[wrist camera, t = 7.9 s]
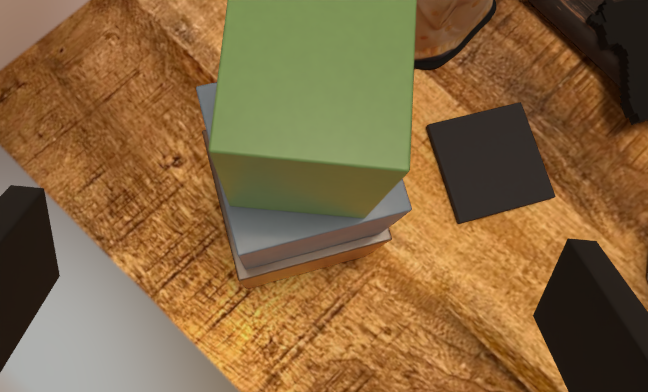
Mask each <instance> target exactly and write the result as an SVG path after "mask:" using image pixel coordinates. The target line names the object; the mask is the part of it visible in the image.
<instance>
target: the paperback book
mask: <svg viewBox="0 0 648 392" xmlns="http://www.w3.org/2000/svg"><path fill="white" fill-rule="evenodd" d="M528 1H529V2H530V3H531V4H532V5H534V6H535V7H536V8H537V9H538V10H539V11H540V12H541V13H542V14H543V15H544V16H545V17H546V18H547V19H548V20H549V21H551V22H552V23H553V24H554V25H555V26H556V27H557V28H558V29H559V30H560V31H561V32H562V33H563V34H564V35H565V36H566V37H568V38H569V39H570V40H571V41H572V42H573V43H574V44H575V45H576V46H577V47H578V48H579V49H580V50H581V51H582V52H583V53H584V54H586V55H587V56H588V57H589V58H590V59H591V60H592V61H593V62H594V63H595V64H596V65H597V66H598V67H599V68H600V69H601V70H603V71H604V72H605V73H606V74H607V75H608V76H609V77H610V78H611V79H612V80H613V81H614V82H615V83H616V84H617V85H618V86H620V84H619V83H620V82H621V80H620V78H619V74H620V72H619V69H621V68H620V66H619V63H618V62H619V61H620V60H619V57H618V55H615V54H614V51H611V50H610V49H608V50H604V51H601V50H600V48H599V45H598V43H597V42H598V41H599V39H598V37H597V34H596V32H595V29H594V28H593V27H590V25H588V26H587V23H586V20H587V18H588V17H589V16H590V15H591V14H594V16H595V15H596V14H595V12H596V11H597V10H598V6H599V5H600V4H602V2H603V1H604V0H528ZM620 1H624V0H613V2H614V3H615V2H620ZM620 87H621V86H620Z"/></svg>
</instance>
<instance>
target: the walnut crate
mask: <svg viewBox="0 0 648 392" xmlns="http://www.w3.org/2000/svg"><path fill="white" fill-rule="evenodd" d="M202 134H203V138H204V142H205V146H206V150H207V154H208V158H209V162H210V167H211V171H212V175H213V179H214V183H215V187H216V191H217V195H218V199H219V203H220V207H221V211H222V215H223V219H224V223H225V227H226V232H227V236H228V240H229V244H230V248H231V252H232V256H233V260H234V264H235V268H236V272H237V276H238V280H239V281H240V282H241V283H242V284H243V286H244V287H245V288H246V289H249V288H252V287H256V286H260V285H263V284H267V283H270V282H274V281H278V280H281V279H285V278H289V277H292V276H296V275H300V274H303V273H307V272H310V271H314V270H318V269H321V268H325V267H329V266H332V265H336V264H340V263H343V262H347V261H350V260H354V259H358V258H361V257H365V256H367V255H368V254H370V253H371V252H373V251H374V250H376V249H378V248H379V247H381V246H382V245H384V244H385V243H387V242H388V241H390V240H391V239H392V237H391V234H390V231H389V228H387V229H386V230H385V231H383V232H382V233H380V234H377V235H373V236H369V237H366V238H362V239H358V240H355V241H351V242H347V243H343V244H340V245H336V246H332V247H329V248H325V249H321V250H317V251H314V252H310V253H306V254H303V255H299V256H295V257H291V258H288V259H284V260H280V261H277V262H273V263H269V264H266V265H262V266H258V267H254V268H251V269H245V268H244V266H243V264H242V262H241V261H240V259H239V257H238V255H237V252H236V248H235V244H234V240H233V236H232V232H231V228H230V224H229V220H228V215H227V211H226V207H225V203H224V199H223V195H222V191H221V187H220V183H219V179H218V175H217V171H216V169H215V166H214V164H213V161H212V158H211V156H210V153H209V150H208V149H209V139H208V135H207V131H206V130H203V131H202Z"/></svg>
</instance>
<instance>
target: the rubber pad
mask: <svg viewBox="0 0 648 392" xmlns="http://www.w3.org/2000/svg"><path fill="white" fill-rule="evenodd" d="M426 129H427V132H428V135H429V138H430V141H431V144H432V147H433V150H434V153H435V156H436V159H437V162H438V165H439V168H440V171H441V174H442V177H443V180H444V183H445V186H446V189H447V192H448V195H449V198H450V201H451V204H452V207H453V210H454V213H455V216H456V220H457V223H458V224H460V223H464V222H467V221H471V220H475V219H478V218H482V217H486V216H489V215H493V214H497V213H500V212H504V211H508V210H511V209H515V208H519V207H522V206H526V205H530V204H533V203H537V202H541V201H544V200H548V199H552V198H554V197H555V194H554V191H553V188H552V186H551V183H550V180H549V177H548V175H547V172H546V169H545V167H544V164H543V161H542V158H541V156H540V153H539V150H538V148H537V145H536V142H535V139H534V137H533V134H532V131H531V129H530V126H529V123H528V120H527V118H526V115H525V112H524V110H523V107H522V104H521V102H520V103H516V104H511V105H507V106H503V107H499V108H495V109H491V110H487V111H482V112H478V113H474V114H470V115H466V116H462V117H458V118H453V119H449V120H445V121H441V122H437V123H433V124H429V125H427V127H426Z"/></svg>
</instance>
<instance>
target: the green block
mask: <svg viewBox="0 0 648 392" xmlns="http://www.w3.org/2000/svg"><path fill="white" fill-rule="evenodd" d="M416 7H417V0H228V2H227V10H226V17H225V25H224V33H223V40H222V48H221V56H220V64H219V71H218V79H217V87H216V95H215V102H214V110H213V118H212V126H211V133H210V141H209V149H208V150H209V153H210V156H211V158H212V161H213V164H214V166H215V169H216V171H217V174H218V177H219V179H220V182H221V184H222V187H223V190H224V192H225V195H226V198H227V200H228V203H229V205H230V206H234V207H245V208H256V209H267V210H278V211H289V212H300V213H310V214H321V215H332V216H343V217H354V218H365V217H366V216H367V215H368V214H369V213H370V212H371V211H372V210H373V209H374V208H375V207H376V206H377V205H378V204H379V203H380V202H381V201H382V200H383V198H384V197H385V196H386V195H387V194H388V193H389V192H390V191H391V190H392V189H393V188H394V187H395V186H396V185H397V184H398V183H399V182H400V181H401V179H402V178H403V177H404V176H405V175H406V174H407V173H408V172H409V170H410V153H411V129H412V104H413V80H414V56H415V31H416Z"/></svg>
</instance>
